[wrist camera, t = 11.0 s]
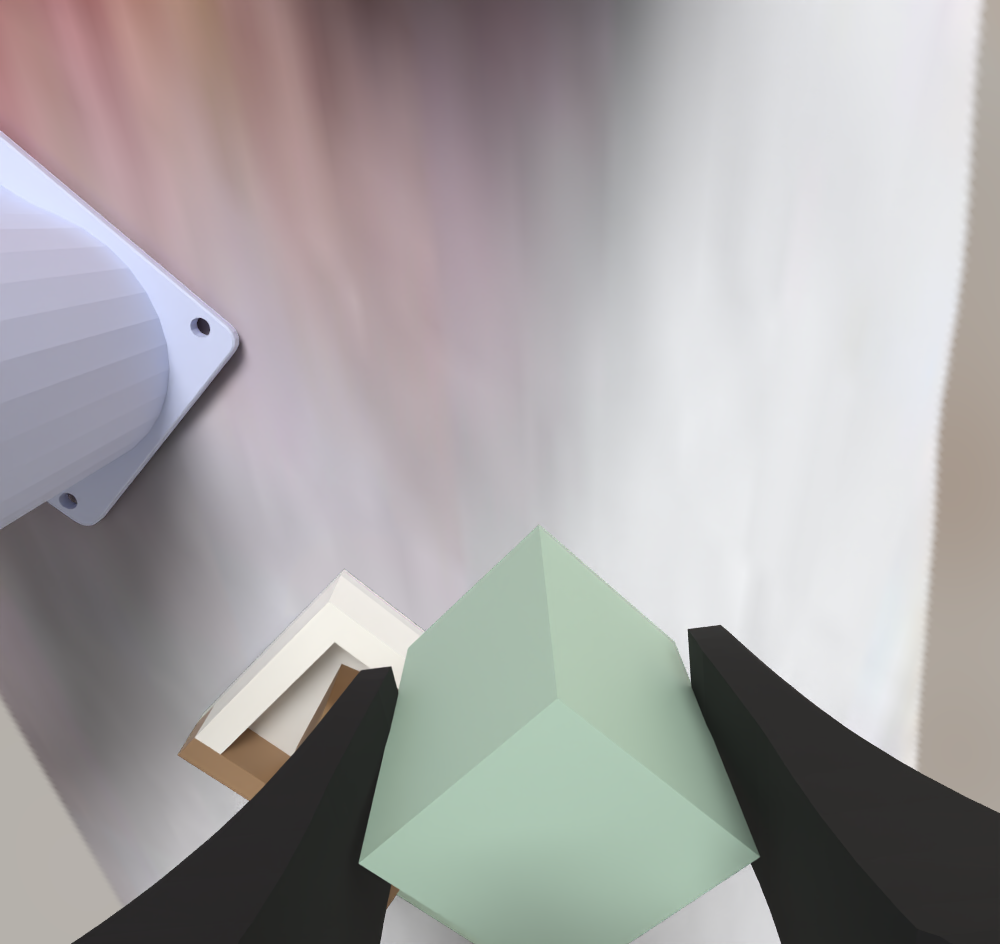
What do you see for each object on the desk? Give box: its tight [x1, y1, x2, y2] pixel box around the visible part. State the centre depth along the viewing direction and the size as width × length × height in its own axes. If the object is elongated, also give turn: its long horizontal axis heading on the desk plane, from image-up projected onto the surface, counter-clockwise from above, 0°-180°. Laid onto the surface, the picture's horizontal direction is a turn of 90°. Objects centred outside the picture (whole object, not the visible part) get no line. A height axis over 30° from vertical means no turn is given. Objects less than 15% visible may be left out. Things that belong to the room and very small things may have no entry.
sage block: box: [359, 525, 760, 944], centre depth 12 cm, size 4×4×5 cm
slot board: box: [178, 569, 485, 944], centre depth 23 cm, size 17×8×2 cm, turn 47°
